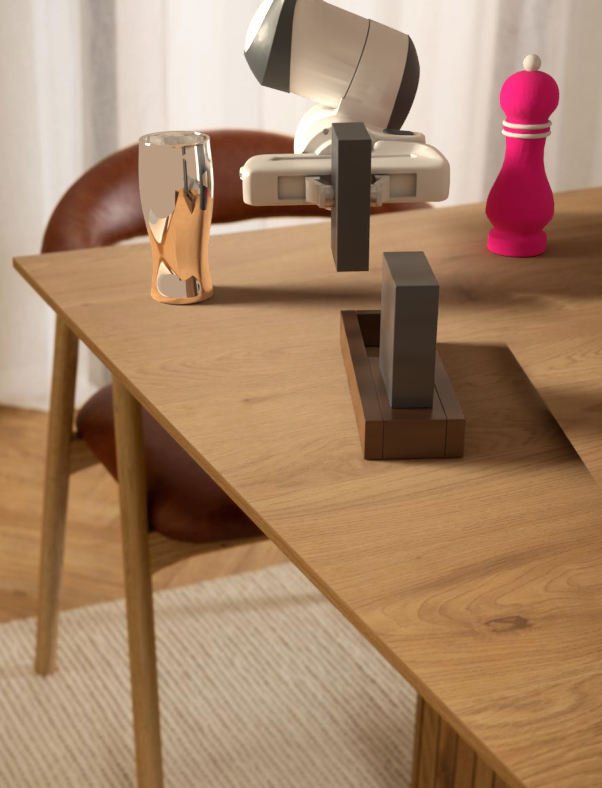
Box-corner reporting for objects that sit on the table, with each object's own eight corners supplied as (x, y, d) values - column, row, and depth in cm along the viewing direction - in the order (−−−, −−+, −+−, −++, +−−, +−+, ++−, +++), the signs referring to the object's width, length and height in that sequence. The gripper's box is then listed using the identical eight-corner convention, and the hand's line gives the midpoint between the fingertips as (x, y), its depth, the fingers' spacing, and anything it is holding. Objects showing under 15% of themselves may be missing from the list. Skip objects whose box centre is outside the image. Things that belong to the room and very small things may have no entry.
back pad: (330, 247, 117) (331, 122, 111) (361, 246, 117) (363, 121, 111) (336, 272, 110) (337, 140, 104) (368, 271, 110) (371, 139, 104)
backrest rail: (339, 342, 104) (341, 206, 98) (419, 341, 104) (426, 205, 98) (364, 459, 83) (368, 296, 78) (463, 457, 83) (474, 294, 78)
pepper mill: (479, 239, 131) (492, 49, 122) (544, 239, 131) (562, 48, 122) (486, 258, 125) (501, 59, 116) (555, 259, 125) (575, 59, 115)
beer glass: (131, 295, 116) (120, 138, 109) (185, 278, 120) (177, 127, 113) (178, 311, 111) (170, 149, 104) (232, 293, 116) (227, 137, 109)
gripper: (238, 136, 120) (238, 166, 108) (438, 131, 121) (461, 161, 108) (240, 198, 123) (240, 234, 111) (435, 193, 124) (457, 229, 111)
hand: (351, 198), depth 110 cm, fingers closed on back pad, 3 cm apart
